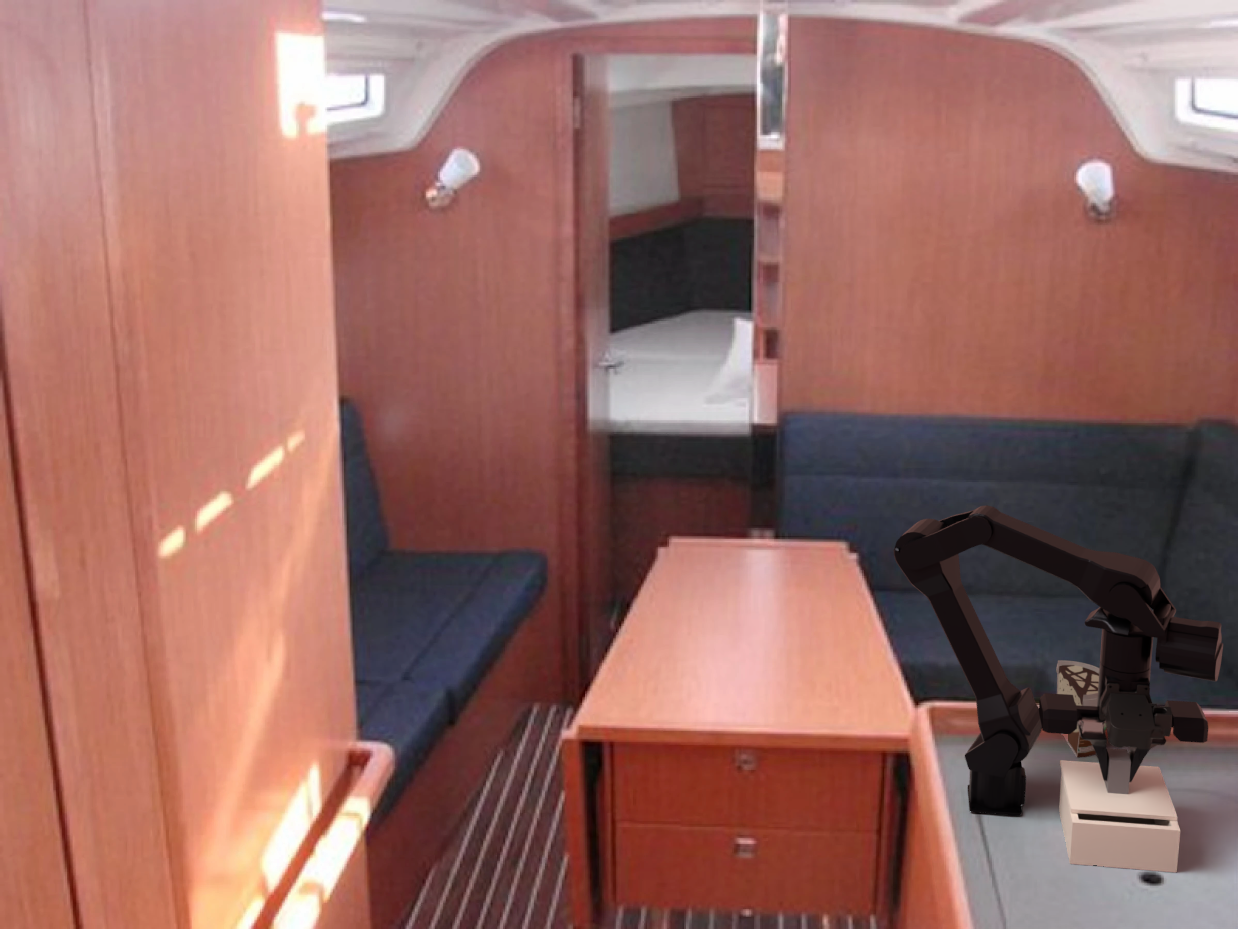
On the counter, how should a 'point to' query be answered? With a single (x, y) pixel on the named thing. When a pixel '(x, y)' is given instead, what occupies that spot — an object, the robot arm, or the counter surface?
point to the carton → (1119, 840)
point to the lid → (1117, 789)
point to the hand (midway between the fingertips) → (1116, 780)
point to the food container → (1079, 696)
